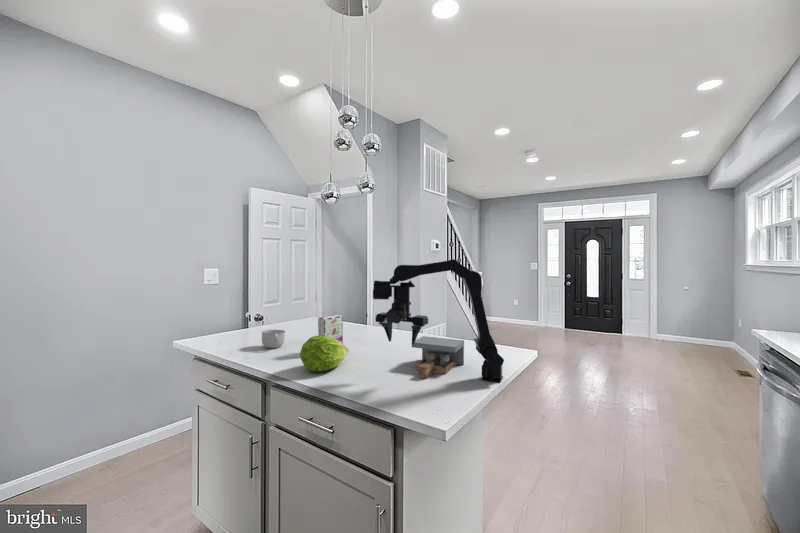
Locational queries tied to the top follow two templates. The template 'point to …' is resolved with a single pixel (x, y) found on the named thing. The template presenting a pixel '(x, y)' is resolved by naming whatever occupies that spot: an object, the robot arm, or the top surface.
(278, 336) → the teacup
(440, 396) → the top surface
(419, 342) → the grey piece
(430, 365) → the walnut tray
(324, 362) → the lettuce
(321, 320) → the candy bar box
